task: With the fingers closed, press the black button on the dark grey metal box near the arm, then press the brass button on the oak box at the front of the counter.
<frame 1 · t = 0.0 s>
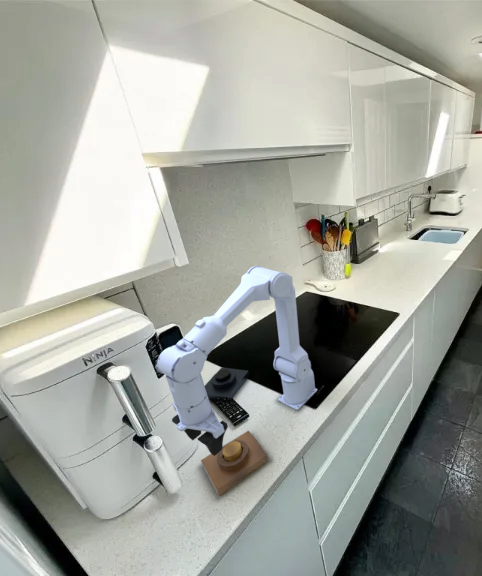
hand: (206, 444, 69), 10 cm above the worktop, tool pointing down, fingers open, 7 cm apart
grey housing: (225, 386, 99), on the worktop
brass button: (232, 451, 73), point 4 cm above the worktop, slide at 0.1 cm
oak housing: (235, 463, 75), on the worktop
black button: (222, 375, 97), point 4 cm above the worktop, slide at 0.1 cm
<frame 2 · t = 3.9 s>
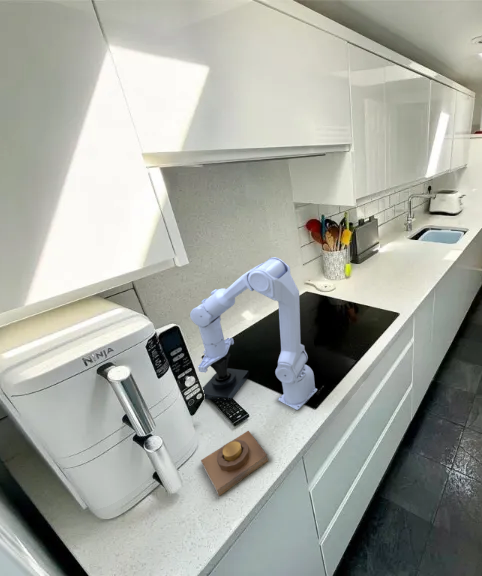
hand: (222, 375, 97), 5 cm above the worktop, tool pointing down, fingers closed, pressing on black button
black button: (223, 377, 98), point 4 cm above the worktop, slide at -0.5 cm, touching gripper
everything else where it was.
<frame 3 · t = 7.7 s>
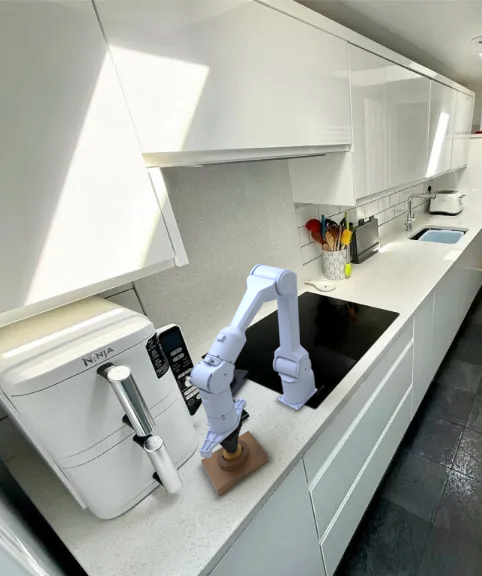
hand: (232, 450, 73), 5 cm above the worktop, tool pointing down, fingers closed, pressing on brass button
brass button: (232, 452, 74), point 4 cm above the worktop, slide at -0.5 cm, touching gripper
black button: (222, 375, 97), point 4 cm above the worktop, slide at 0.1 cm
everything else where it was.
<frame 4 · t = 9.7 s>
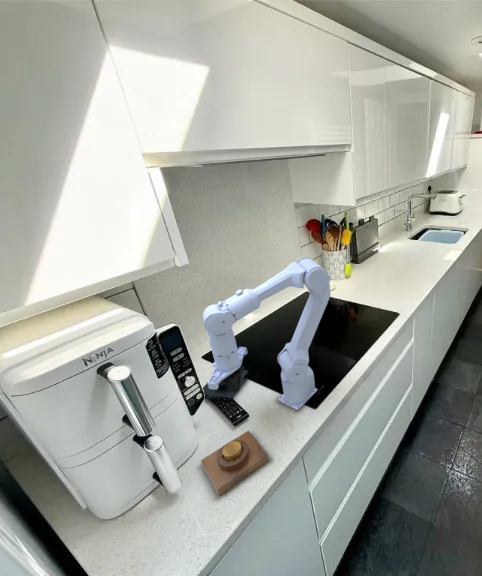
hand: (235, 390, 83), 10 cm above the worktop, tool pointing down, fingers closed
brass button: (232, 451, 73), point 4 cm above the worktop, slide at 0.1 cm
everything else where it was.
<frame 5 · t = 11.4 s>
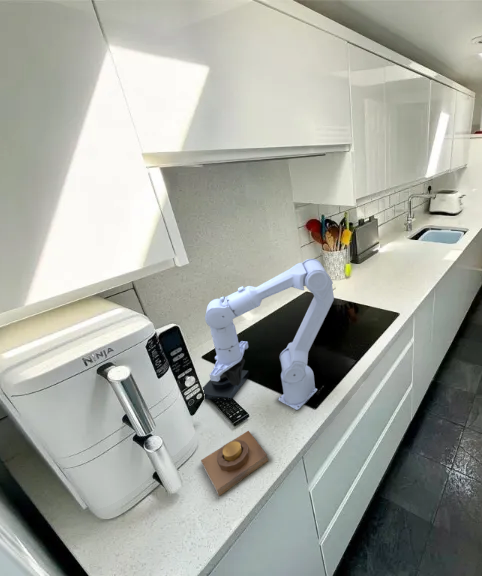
hand: (236, 383, 86), 10 cm above the worktop, tool pointing down, fingers closed
nothing on the worktop moved.
at the end: black button pushed in 1.2 cm at the most during the clip, back to where it started at the end; brass button pushed in 1.2 cm at the most during the clip, back to where it started at the end; brass button slide at 0.1 cm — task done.
